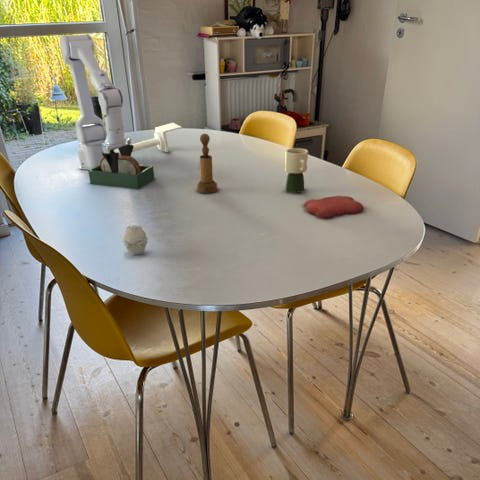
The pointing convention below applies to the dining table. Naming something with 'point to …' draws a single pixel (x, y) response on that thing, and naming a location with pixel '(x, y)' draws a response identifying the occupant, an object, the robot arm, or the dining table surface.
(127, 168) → the tin
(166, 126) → the paper towel holder
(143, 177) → the tote
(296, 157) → the character mug
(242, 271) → the dining table surface
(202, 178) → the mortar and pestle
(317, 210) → the patty
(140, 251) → the off-white lumpy ball
